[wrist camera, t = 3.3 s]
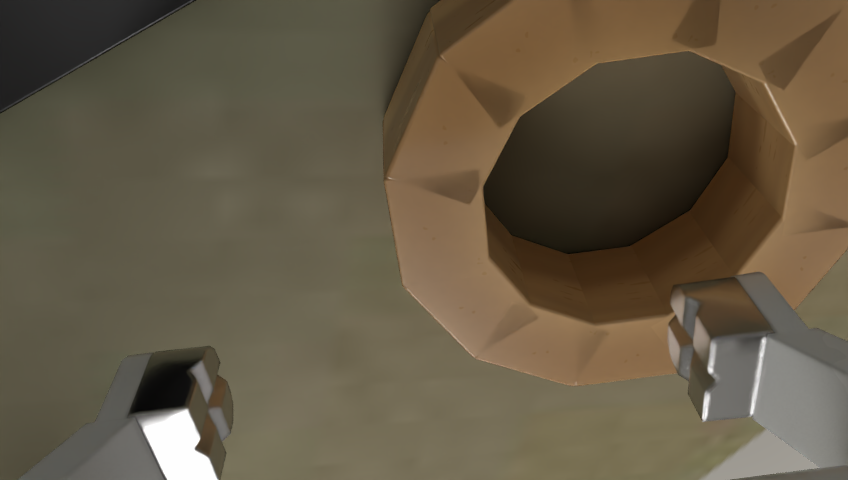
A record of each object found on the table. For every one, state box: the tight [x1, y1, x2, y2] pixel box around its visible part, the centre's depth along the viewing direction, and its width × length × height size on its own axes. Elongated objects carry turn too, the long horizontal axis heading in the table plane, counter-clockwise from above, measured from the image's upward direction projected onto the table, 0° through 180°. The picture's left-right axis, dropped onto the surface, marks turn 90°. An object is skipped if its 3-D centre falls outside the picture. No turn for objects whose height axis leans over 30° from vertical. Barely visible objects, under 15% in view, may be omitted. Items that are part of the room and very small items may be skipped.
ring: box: [383, 0, 848, 386], centre depth 17 cm, size 11×11×3 cm
